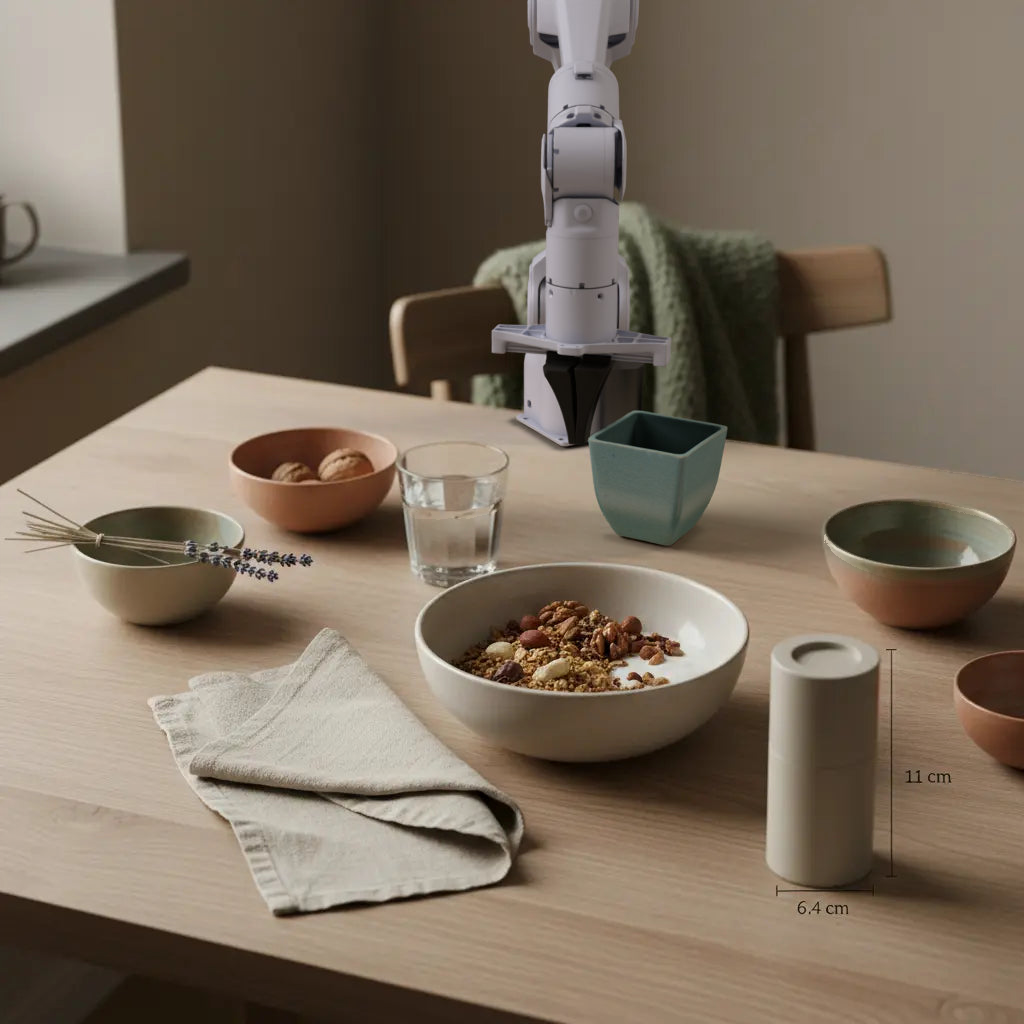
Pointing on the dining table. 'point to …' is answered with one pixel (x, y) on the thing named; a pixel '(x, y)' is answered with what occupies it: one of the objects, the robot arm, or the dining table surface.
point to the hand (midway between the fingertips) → (579, 440)
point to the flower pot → (655, 473)
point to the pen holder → (622, 392)
